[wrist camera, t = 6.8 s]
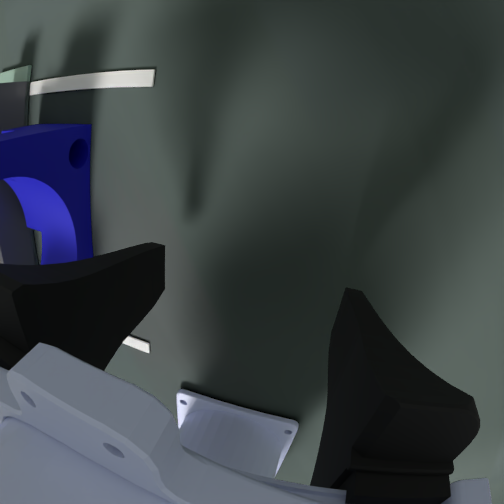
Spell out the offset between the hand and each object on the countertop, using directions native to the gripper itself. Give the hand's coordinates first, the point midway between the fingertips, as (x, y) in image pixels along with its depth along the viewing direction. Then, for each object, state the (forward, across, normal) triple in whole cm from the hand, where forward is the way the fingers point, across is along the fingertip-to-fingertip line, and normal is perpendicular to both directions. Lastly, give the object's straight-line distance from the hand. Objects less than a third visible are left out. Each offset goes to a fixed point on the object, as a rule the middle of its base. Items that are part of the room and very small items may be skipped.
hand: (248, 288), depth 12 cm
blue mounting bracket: (+3, +12, +1) cm, 12 cm away
